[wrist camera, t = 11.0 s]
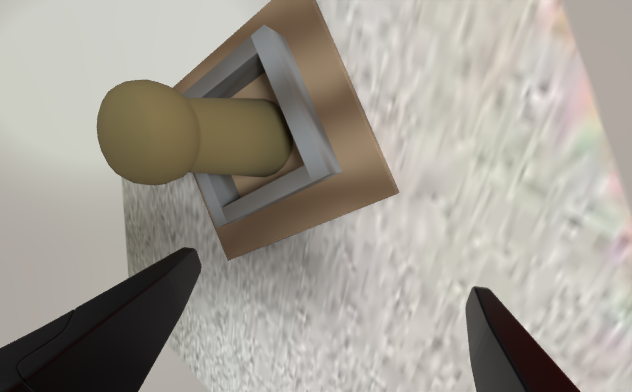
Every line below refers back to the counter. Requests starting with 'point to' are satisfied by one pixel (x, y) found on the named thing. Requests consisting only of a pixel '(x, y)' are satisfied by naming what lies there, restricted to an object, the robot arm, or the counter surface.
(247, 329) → the counter surface
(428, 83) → the counter surface
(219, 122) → the cork
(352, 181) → the socket base
